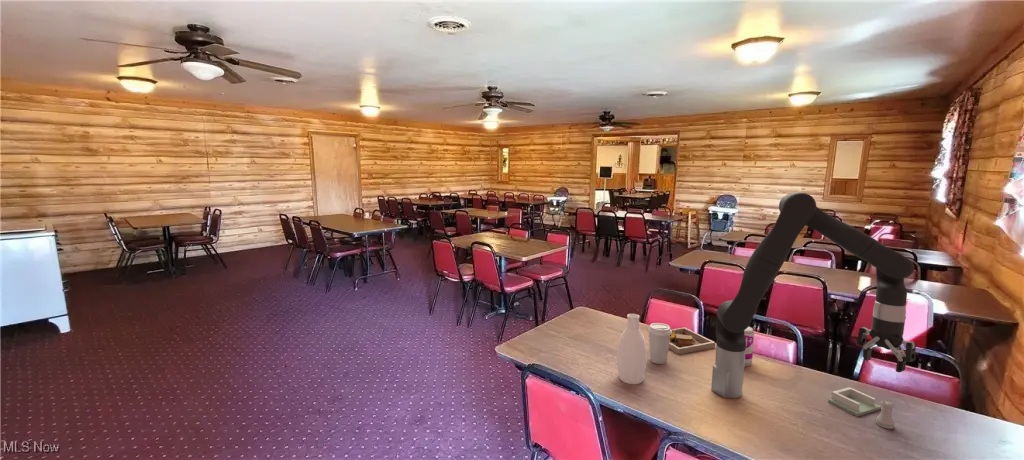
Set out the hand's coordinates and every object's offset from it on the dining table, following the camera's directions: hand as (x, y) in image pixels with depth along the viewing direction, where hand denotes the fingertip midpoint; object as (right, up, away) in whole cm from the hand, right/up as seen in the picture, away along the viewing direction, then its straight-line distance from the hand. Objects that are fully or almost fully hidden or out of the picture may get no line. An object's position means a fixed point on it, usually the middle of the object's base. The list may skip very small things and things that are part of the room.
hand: (882, 365), depth 132 cm
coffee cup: (-56, -12, +43) cm, 72 cm away
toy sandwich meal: (-38, -10, +61) cm, 72 cm away
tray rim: (-39, -9, +61) cm, 73 cm away
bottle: (-72, -14, +28) cm, 79 cm away
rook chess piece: (-1, -18, -1) cm, 18 cm away
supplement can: (-22, -12, +41) cm, 49 cm away
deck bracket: (-1, -17, +9) cm, 19 cm away
